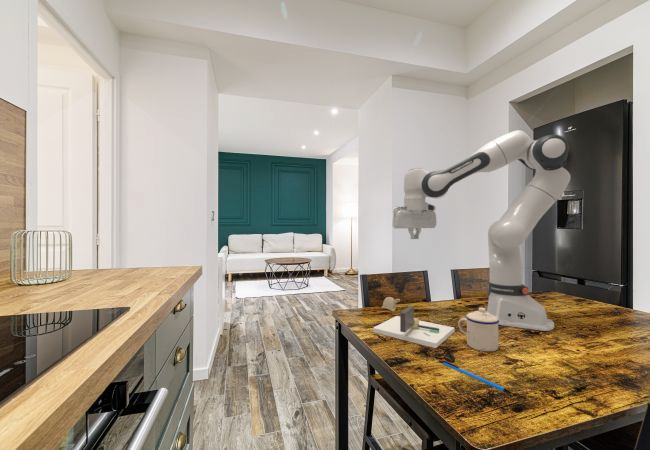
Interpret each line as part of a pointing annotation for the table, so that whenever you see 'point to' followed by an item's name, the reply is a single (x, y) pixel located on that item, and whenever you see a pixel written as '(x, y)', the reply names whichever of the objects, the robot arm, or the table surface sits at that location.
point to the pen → (474, 376)
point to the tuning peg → (410, 320)
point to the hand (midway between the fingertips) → (414, 239)
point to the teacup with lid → (481, 330)
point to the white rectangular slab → (415, 332)
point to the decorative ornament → (390, 303)
